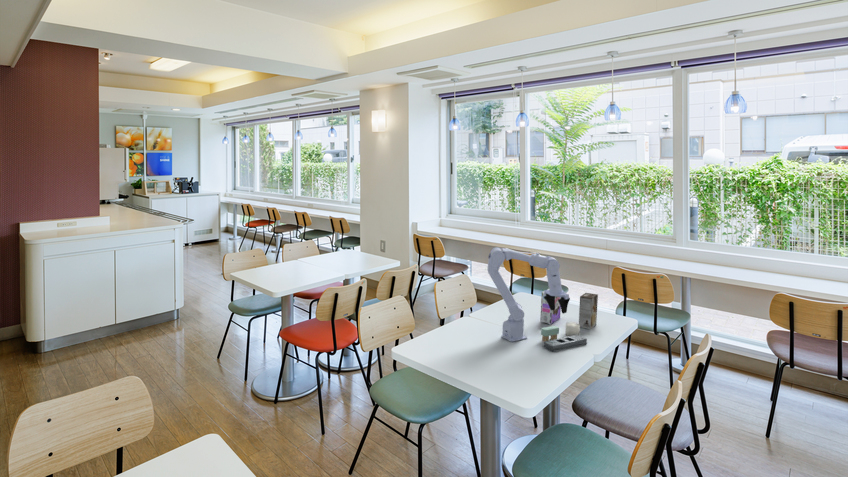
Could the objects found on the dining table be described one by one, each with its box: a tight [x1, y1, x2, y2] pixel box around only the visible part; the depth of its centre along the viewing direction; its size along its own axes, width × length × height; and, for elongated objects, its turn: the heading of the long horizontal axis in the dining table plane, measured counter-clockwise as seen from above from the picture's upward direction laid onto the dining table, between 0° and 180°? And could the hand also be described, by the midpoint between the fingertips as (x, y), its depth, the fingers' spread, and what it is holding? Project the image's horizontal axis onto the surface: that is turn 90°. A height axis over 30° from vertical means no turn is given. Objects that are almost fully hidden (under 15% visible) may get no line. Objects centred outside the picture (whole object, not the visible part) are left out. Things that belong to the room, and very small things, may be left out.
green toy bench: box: [540, 325, 560, 342], centre depth 215 cm, size 8×3×6 cm, turn 116°
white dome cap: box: [564, 322, 581, 337], centre depth 223 cm, size 6×6×5 cm
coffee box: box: [578, 292, 599, 330], centre depth 234 cm, size 9×6×16 cm
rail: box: [543, 334, 588, 353], centre depth 209 cm, size 20×6×2 cm, turn 116°
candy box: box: [539, 288, 562, 325], centre depth 243 cm, size 14×6×16 cm, turn 143°
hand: (558, 311), depth 216 cm, fingers open, 7 cm apart
